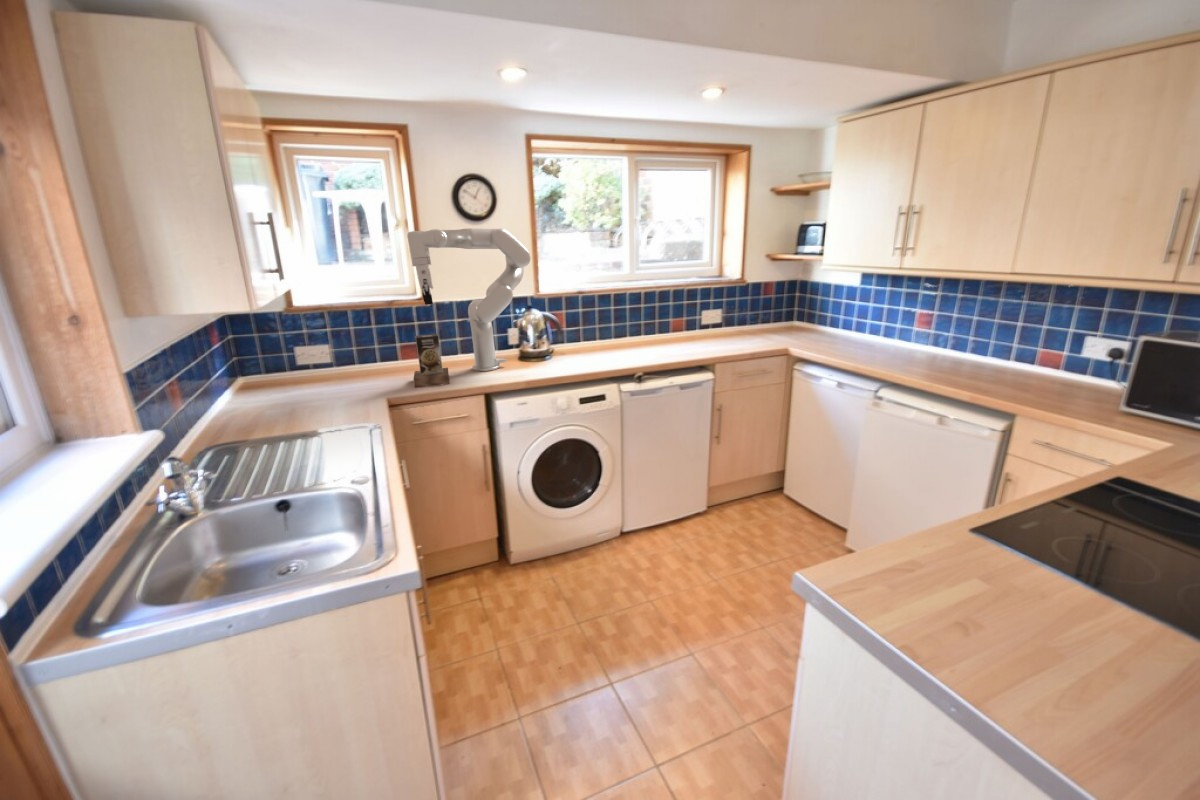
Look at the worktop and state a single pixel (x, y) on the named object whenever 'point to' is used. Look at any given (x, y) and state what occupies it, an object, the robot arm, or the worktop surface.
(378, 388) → the worktop surface
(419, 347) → the coffee box
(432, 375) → the walnut plinth
